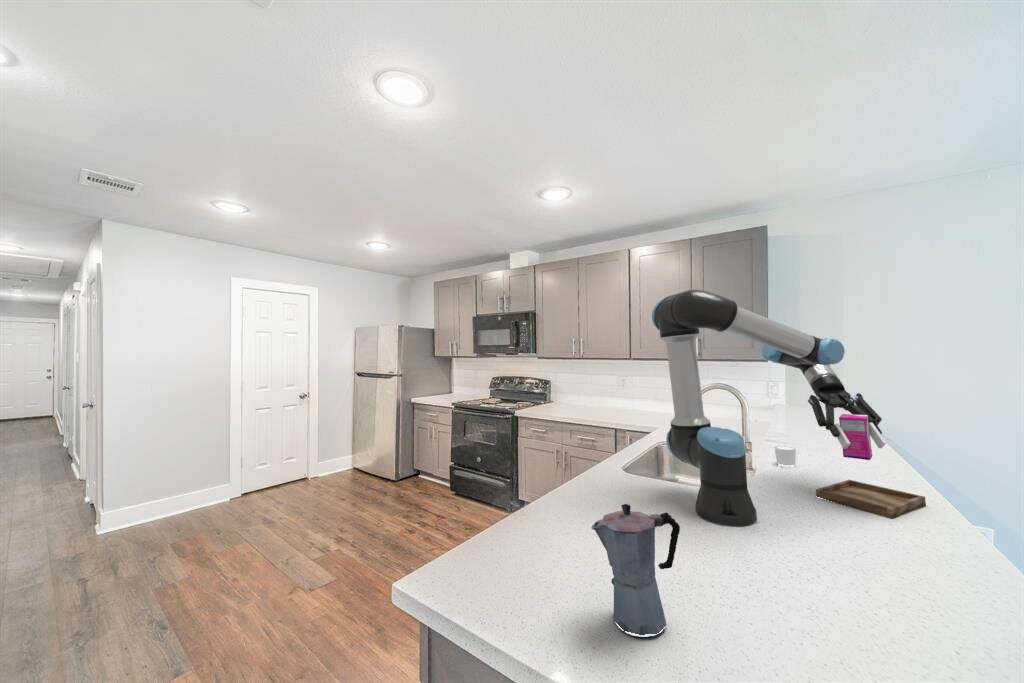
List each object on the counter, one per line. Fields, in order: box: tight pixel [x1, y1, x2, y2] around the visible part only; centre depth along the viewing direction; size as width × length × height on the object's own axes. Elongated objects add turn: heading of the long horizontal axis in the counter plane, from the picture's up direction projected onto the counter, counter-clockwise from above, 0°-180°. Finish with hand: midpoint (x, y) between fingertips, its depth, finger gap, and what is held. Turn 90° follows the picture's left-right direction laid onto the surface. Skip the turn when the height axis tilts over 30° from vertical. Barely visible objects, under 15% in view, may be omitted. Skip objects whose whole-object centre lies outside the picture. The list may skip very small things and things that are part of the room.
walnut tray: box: [815, 479, 927, 520], centre depth 114 cm, size 18×18×2 cm
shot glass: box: [774, 445, 797, 466], centre depth 152 cm, size 7×7×7 cm
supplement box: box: [838, 413, 873, 461], centre depth 110 cm, size 6×6×12 cm
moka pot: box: [591, 503, 681, 635], centre depth 68 cm, size 10×15×20 cm, turn 95°
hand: (864, 445), depth 106 cm, fingers closed on supplement box, 8 cm apart
